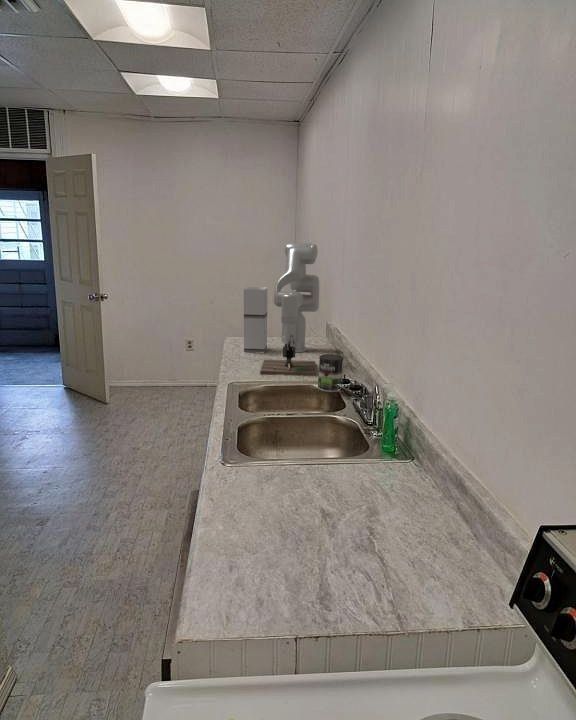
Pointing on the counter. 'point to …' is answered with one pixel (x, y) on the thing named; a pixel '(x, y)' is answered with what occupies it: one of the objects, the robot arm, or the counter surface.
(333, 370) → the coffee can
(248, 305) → the tall grey two-section tower
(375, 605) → the counter surface
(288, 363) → the tuning peg
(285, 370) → the wooden cutting board
